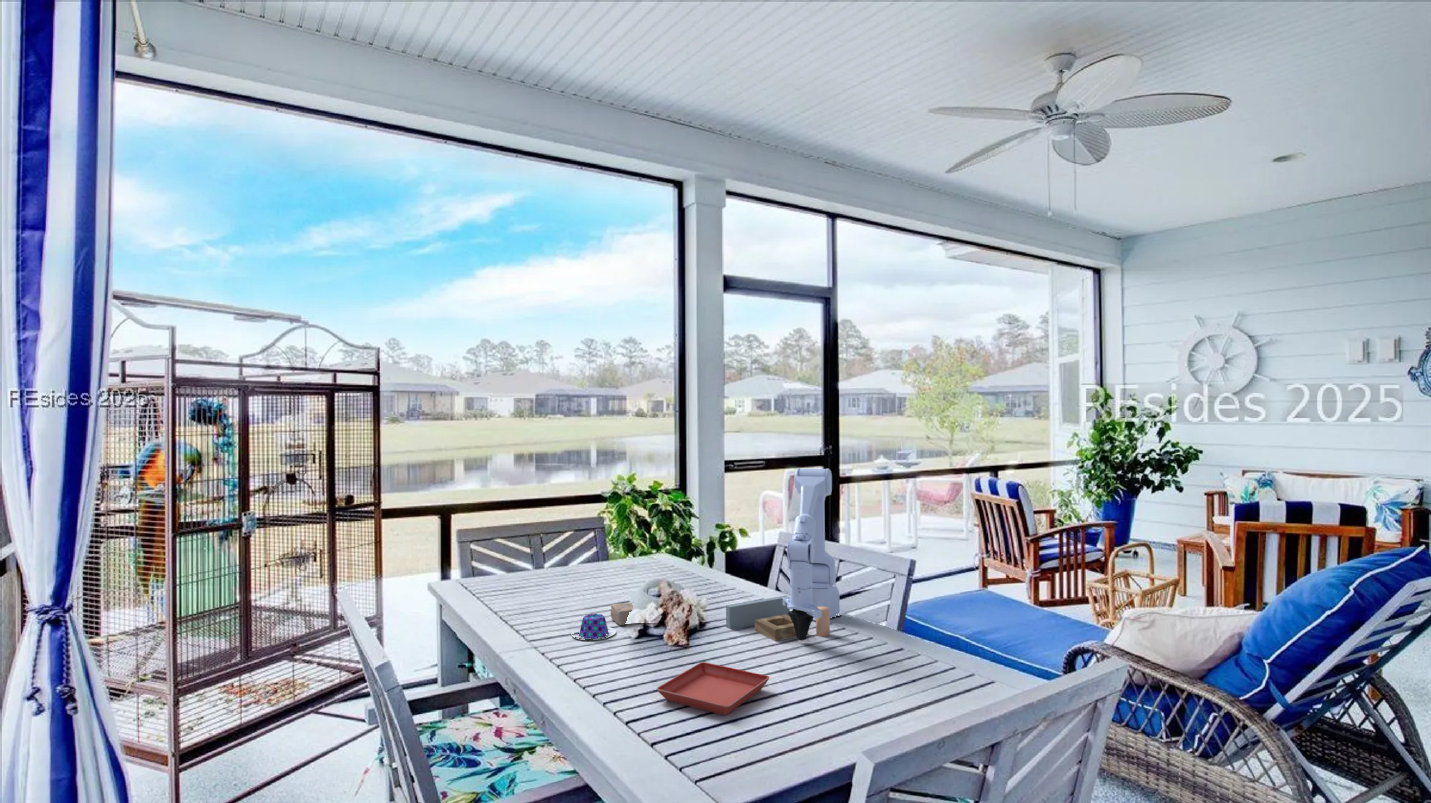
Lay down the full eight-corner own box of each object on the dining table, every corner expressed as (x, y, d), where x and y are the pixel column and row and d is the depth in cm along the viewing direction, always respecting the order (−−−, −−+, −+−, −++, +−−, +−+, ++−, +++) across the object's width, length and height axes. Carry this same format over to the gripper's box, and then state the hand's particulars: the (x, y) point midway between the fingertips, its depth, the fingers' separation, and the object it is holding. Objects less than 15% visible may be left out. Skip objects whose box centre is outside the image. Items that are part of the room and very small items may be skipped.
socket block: (785, 625, 206) (785, 614, 206) (806, 634, 198) (806, 623, 198) (754, 630, 202) (754, 619, 202) (775, 641, 193) (775, 629, 193)
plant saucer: (728, 722, 145) (728, 705, 145) (654, 703, 155) (654, 687, 155) (771, 691, 161) (771, 676, 161) (702, 675, 170) (701, 661, 170)
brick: (662, 612, 222) (662, 596, 222) (673, 619, 214) (673, 603, 214) (609, 620, 214) (609, 604, 214) (619, 627, 207) (618, 611, 207)
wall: (785, 616, 215) (785, 595, 215) (789, 617, 213) (789, 597, 213) (726, 627, 205) (726, 605, 205) (729, 628, 204) (729, 607, 204)
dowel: (824, 631, 200) (824, 605, 200) (832, 635, 197) (832, 609, 197) (813, 633, 199) (813, 607, 199) (821, 637, 195) (821, 611, 195)
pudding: (592, 645, 192) (592, 625, 192) (562, 637, 199) (561, 617, 199) (625, 633, 201) (625, 614, 201) (595, 626, 209) (594, 607, 209)
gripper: (772, 582, 195) (773, 634, 195) (805, 595, 183) (805, 649, 183) (794, 579, 199) (795, 629, 199) (828, 591, 186) (828, 645, 186)
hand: (801, 639), depth 191 cm, fingers closed
